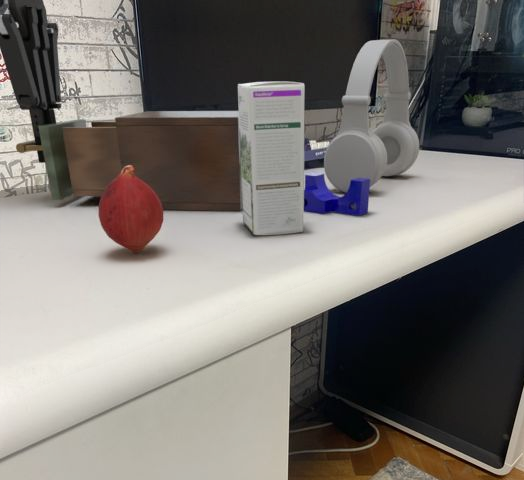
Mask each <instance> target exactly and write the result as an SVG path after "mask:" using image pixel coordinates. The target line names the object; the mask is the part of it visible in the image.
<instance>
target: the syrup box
mask: <svg viewBox="0 0 524 480" xmlns="http://www.w3.org/2000/svg"><path fill="white" fill-rule="evenodd" d="M305 88H306V87H305V83H304V82H299V81H298V82H296V81H279V80H277V81H255V82H254V81H253V82H246V83H238V84H237V101H238V102H237V103H238V106H237V107H238V111H239V135H240V156H241V184H242V207H243V208H242V224H243V225H244V226H245V227H246V228H247V229H248V230H249V231H250V233H252V235H254V236H275V235H276V236H277V235H285V234H286V235H287V234H296V233H297V234H298V233H303V232H304V218H305V217H304V215H305V214H304V213H305V212H304V187H305V97H306V96H305V95H306V93H305V91H306V90H305Z"/></svg>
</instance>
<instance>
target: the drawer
mask: <svg viewBox="0 0 524 480" xmlns="http://www.w3.org/2000/svg"><path fill="white" fill-rule="evenodd" d="M90 124H91V126H87V119H85V118H80V119H79V118H77V119H71V120H66V121H60V122H56V123H53V124H47V125H42V126H38V127H39V132H40V138H41V143H42V145H36V143H35V139H33V140H28V141H22V142H19V143H16V145H15V149H16V151H17V152H18V153H20V154H23V153H28V152H31V151H37V150H43V154H44V159H45V169H46V176H47V180H48V185H49V191H50V196H51V200H52V201H61V200H64V199H66V198H68V197H70V196H73V197H101V196H102V194H103V192H104V190H105V189H106V187H107V186H108V185H109V184H110V183H111V182H112V181H113V180H114V179H115V178H116V177H117V176H118V175H119V174H120V172H121V171H122V170H121V162H120V154H119V146H118V138H117V130H116V122H115V121H91V122H90Z"/></svg>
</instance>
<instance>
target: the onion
mask: <svg viewBox="0 0 524 480" xmlns="http://www.w3.org/2000/svg"><path fill="white" fill-rule="evenodd" d="M98 219H99V222H100V226H101V228H102V230H103V231H104V233H105V234H106V236H107V237H108V238H109V239H110V240H112V241H113V242H114V243H115V244H118V245H119V246H121V247H123V248H125V249H127V250H128V251H131V252H132V253H134V254H137V253H141V252H142V251H144V249H145V248H146V246H147V245H149V243H151V241H153V240H154V239H155V237H156V236H157V235H158V234H159V232H160V231H161V229H162V226H163V223H164V210H163V208H162V204H161V202H160V200H159V198H158V196H157V194H156V193H155V192H154V190H153V189H152V188H151V187H150V186H149V185H147V184H146V183H145V182H144V181H142V180H141V179H139V178H138V177H136V176H135V173H134V168H133V166H132V165H128V166H125V167H124V168H123V170H122V171H121V172H120V174H119V175H118V176H117V177H116V178H115V179H114V180H113V181H112V182H111V183H110V184H109V185H108V186H107V187H106V189H105V190H104V192H103V194H102V196H100V199H99V204H98Z"/></svg>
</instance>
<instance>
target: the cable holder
mask: <svg viewBox="0 0 524 480" xmlns="http://www.w3.org/2000/svg"><path fill="white" fill-rule="evenodd" d="M370 188H371V187H370V179H366V178H357V179H353V180H351V182H350V186H349V189H348V191H347V192H346V193H344V194H343V195H341V196H339V195H336V194H334V193H333V192H332V191H331V190H330V189H329V187H328V186H327V183H326V179H325V173H320V172H319V173H317V172H312V173H307V174H304V211H305V212H310V213H317V214H324V215H325V214H328V213H338V214H344V215H351V216H356V217H357V216H358V217H361V216H363V215H366V214H368V212H369V201H370V190H371V189H370Z"/></svg>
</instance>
